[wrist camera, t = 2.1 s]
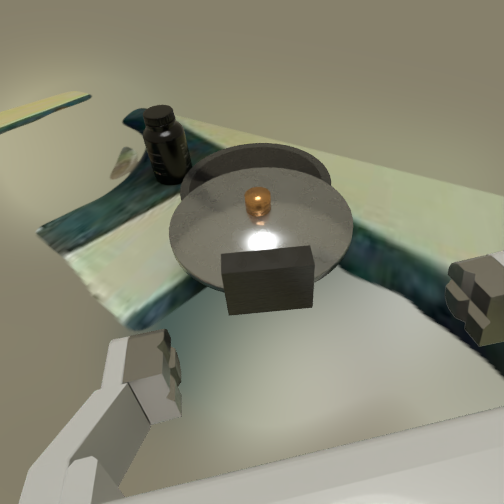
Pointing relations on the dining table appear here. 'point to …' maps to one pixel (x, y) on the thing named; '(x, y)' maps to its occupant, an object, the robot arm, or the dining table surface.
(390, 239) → the dining table surface
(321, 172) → the cooker pot
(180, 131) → the supplement bottle
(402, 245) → the dining table surface
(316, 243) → the cooker lid
